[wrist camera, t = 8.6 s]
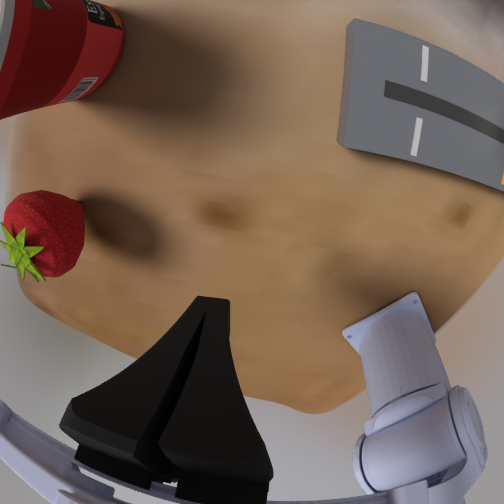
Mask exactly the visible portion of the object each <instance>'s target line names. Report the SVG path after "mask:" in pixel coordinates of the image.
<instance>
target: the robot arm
mask: <svg viewBox="0 0 504 504" xmlns="http://www.w3.org/2000/svg"><path fill="white" fill-rule="evenodd" d="M414 300H415V301H414ZM342 334H343V336H344V338H345V339H346V340H347V341H348V342H349V343H350V344H351V345H352V347H353V348H354V349H355V350H356V351H357V352H358V353H359V355H360V356H361V359H362V365H363V370H364V375H365V381H366V387H367V392H368V399H369V405H370V412H371V419H370V420H369V421H367V422H365V423H364V426H365V433H364V434H362V435H361V436H360V437H359V438H358V440H357V442H356V444H355V448H354V452H353V457H352V466H353V472H354V475H355V478H356V480H357V482H358V483H359V484H360V486H361V487H362V488H363V489H364V490H365V492H366V493H367V495H364V496H357V497H350V498H341V499H331V500H318V501H267V493H268V491H269V482H270V481H271V479H272V478H273V468H272V464H271V461H270V458H269V455H268V452H267V450H266V446H265V443H264V441H263V440H262V438H261V436H260V434H259V432H258V430H257V428H256V426H255V423H254V421H253V419H252V417H251V415H250V413H249V410H248V407H247V404H246V402H245V399H244V397H243V394H242V391H241V388H240V385H239V382H238V378H237V375H236V371H235V367H234V363H233V358H232V353H231V348H230V341H229V336H230V301H229V300H228V299H220V298H212V297H204V296H197V297H196V298H195V299H194V301H193V302H192V303H191V305H190V306H189V307H188V308H187V310H186V311H185V312H184V313H183V314H182V316H181V317H180V318H179V319H178V320H177V321H176V323H175V324H174V325H173V326H172V327H171V328H170V329H169V330H168V331H167V332H166V333H165V334H164V335H163V336H162V337H161V338H160V339H159V340H158V341H157V342H156V343H155V344H154V345H153V346H152V347H151V348H150V349H149V350H148V351H147V352H146V353H145V354H143V355H142V356H141V357H140V358H139V359H137V360H136V361H135V362H134V363H132V364H131V365H130V366H128V367H127V368H126V369H124V370H123V371H121V372H120V373H119V374H117V375H115V376H114V377H112V378H111V379H109V380H107V381H106V382H104V383H102V384H101V385H99V386H97V387H95V388H93V389H91V390H89V391H87V392H85V393H83V394H81V395H79V396H77V397H74V398H72V400H71V401H70V403H69V405H68V406H67V408H66V411H65V413H64V415H63V417H62V420H61V422H60V424H59V426H60V429H61V430H62V431H63V432H64V433H66V434H67V435H68V436H69V437H71V438H72V439H73V440H75V441H76V442H77V443H79V446H78V449H77V451H76V450H74V449H72V448H71V447H69V446H67V445H65V444H63V443H61V442H59V441H58V440H56V439H54V438H52V437H51V436H49V435H48V434H46V433H44V432H43V431H41V430H39V429H38V428H36V427H35V426H33V425H32V424H30V423H29V422H27V421H26V420H24V419H23V418H21V417H20V416H19V415H17V414H16V413H14V412H13V411H12V410H11V409H10V408H9V407H8V406H7V405H6V404H5V403H4V402H2V401H1V400H0V457H1V459H2V460H3V461H4V462H5V463H6V464H7V465H8V466H9V467H10V468H11V469H12V470H13V471H14V472H15V473H16V474H17V475H19V476H20V477H21V478H22V479H23V480H24V481H25V482H26V483H27V484H29V485H30V486H31V487H32V488H33V489H34V490H35V491H37V492H38V493H39V494H40V495H41V496H43V497H44V498H45V499H47V500H48V501H49V502H50V503H52V504H131V503H128V502H125V501H123V500H120V499H117V498H115V497H113V494H114V491H115V489H114V488H113V487H110V486H108V485H106V484H103V483H101V482H99V481H97V480H94V479H92V478H90V477H88V476H86V475H84V474H82V473H81V472H80V469H79V467H81V468H83V469H86V470H87V471H89V472H92V473H94V474H96V475H98V476H100V477H102V478H105V479H107V480H109V481H112V482H114V483H117V484H119V485H122V486H125V487H127V488H130V489H133V490H135V491H138V492H141V493H145V494H147V495H151V496H154V497H157V498H161V499H164V500H168V501H172V502H176V503H180V504H465V499H464V495H465V494H466V493H467V491H468V490H469V489H470V488H471V487H472V486H473V484H474V483H475V482H476V480H477V479H478V478H479V476H480V475H481V473H482V472H483V470H484V468H485V464H486V460H487V453H488V452H487V446H486V442H485V438H484V430H483V426H482V422H481V418H480V415H479V412H478V410H477V407H476V405H475V402H474V400H473V398H472V396H471V394H470V393H469V391H468V390H467V389H466V388H463V387H460V386H458V385H457V386H455V387H453V388H451V386H450V383H449V380H448V378H447V374H446V372H445V369H444V366H443V364H442V361H441V358H440V356H439V353H438V351H437V348H436V346H435V342H436V339H435V336H434V333H433V330H432V328H431V325H430V322H429V320H428V317H427V315H426V312H425V310H424V307H423V305H422V303H421V300H420V298H419V295H418V293H417V292H412V293H410V294H408V295H406V296H405V297H403V298H401V299H400V300H398V301H396V302H394V303H393V304H391V305H389V306H387V307H386V308H384V309H382V310H380V311H378V312H376V313H375V314H373V315H371V316H369V317H367V318H365V319H363V320H361V321H359V322H357V323H355V324H353V325H351V326H349V327H347V328H345V329H344V330H343V331H342ZM78 466H79V467H78ZM163 482H166V483H171V482H174V483H175V482H178V483H177V487H172V486H169V485H165V484H163Z"/></svg>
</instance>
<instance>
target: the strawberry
mask: <svg viewBox="0 0 504 504" xmlns="http://www.w3.org/2000/svg"><path fill="white" fill-rule="evenodd" d="M1 225H2V228H3V232H4V235H5V238H6V240H7V243H8V244H7V243H5V242H2V241H0V244H1V245H2V246H3V247H4V248H5V249H6V250H7V251H8V252H9V253H10V260H9V263H13V262H15V263H16V267H14V266H9V265H4V264H1V265H2V266H7V267H12V268H18V270H19V273H20V275H21V278H22V280H24V277H25V270H26V269H27V271H28V272H29V273H30V274H31V275H32V276H33V278H34V279H35V280H36V281H37V282H39V280H38V278H37V277H36V276H38V277H39V278H41V279H42V280H44V281H46V279H45V278H44V277H43V276H46V277H59V276H61V275H63V274H65V273H66V272H68V271H69V270H71V269H72V268H73V267H74V266H75V264H76V262H77V260H78V258H79V255H80V253H81V251H82V249H83V246H84V235H85V221H84V209H83V206H82V204H81V203H80V202H79V201H77V200H74V199H70V198H68V197H66V196H64V195H61V194H57V193H53V192H49V191H44V190H39V191H33V192H29V193H24V194H20V195H18V196H17V197H16V198H15V199H14V200H13V201H12V202H11V203H10V204H9V205H8V206H7V208H6V210H5V214H4V222H3V223H2V222H1Z"/></svg>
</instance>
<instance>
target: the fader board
mask: <svg viewBox="0 0 504 504" xmlns="http://www.w3.org/2000/svg"><path fill="white" fill-rule="evenodd" d="M337 142H338V143H339V144H340V145H341V146H343V147H345V148H351V149H356V150H362V151H367V152H372V153H377V154H382V155H386V156H391V157H395V158H399V159H404V160H408V161H412V162H415V163H419V164H423V165H427V166H430V167H434V168H437V169H441V170H444V171H447V172H450V173H454V174H457V175H460V176H463V177H466V178H469V179H472V180H475V181H477V182H480V183H483V184H486V185H488V186H491V187H493V188H496V189H499V190H501V191H503V192H504V83H502V82H501V81H499V80H498V79H496V78H495V77H493V76H492V75H490V74H489V73H487V72H485V71H484V70H482V69H480V68H479V67H477V66H475V65H473V64H472V63H470V62H468V61H466V60H464V59H462V58H461V57H459V56H457V55H455V54H453V53H451V52H449V51H447V50H444V49H442V48H440V47H438V46H436V45H433V44H431V43H429V42H426V41H424V40H421V39H419V38H416V37H414V36H411V35H409V34H406V33H403V32H400V31H397V30H394V29H391V28H388V27H385V26H381V25H378V24H375V23H371V22H367V21H363V20H359V19H355V18H354V19H353V20H352V21H351V22H350V23H349V24H348V25H347V31H346V51H345V66H344V79H343V90H342V100H341V110H340V119H339V127H338V135H337Z"/></svg>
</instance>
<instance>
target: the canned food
mask: <svg viewBox="0 0 504 504" xmlns="http://www.w3.org/2000/svg"><path fill="white" fill-rule="evenodd" d="M124 37H125V33H124V26H123V23H122V20H121V19H120V17H119V16H118V14H117V13H116V12H115V11H114V10H113V9H112V8H110V7H109V6H106V5H103V4H100V3H97V2H94V1H91V0H0V120H1V119H4V118H7V117H10V116H13V115H17V114H20V113H23V112H27V111H31V110H34V109H38V108H42V107H47V106H51V105H55V104H60V103H65V102H70V101H75V100H78V99H81V98H83V97H85V96H86V95H88V94H90V93H92V92H93V91H95V90H96V89H97V88H98V87H100V86H101V85H102V84H103V83H104V82H105V81H106V80H107V78H108V77H109V76H110V74H111V73H112V72H113V70H114V68H115V66H116V65H117V63H118V61H119V58H120V56H121V53H122V49H123V45H124Z"/></svg>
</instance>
